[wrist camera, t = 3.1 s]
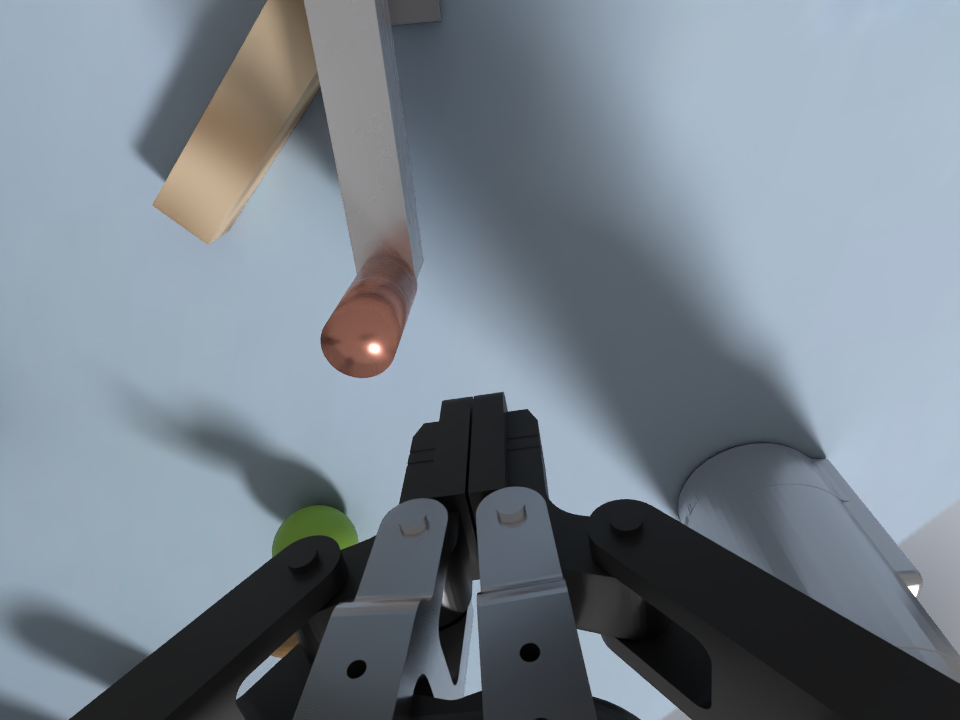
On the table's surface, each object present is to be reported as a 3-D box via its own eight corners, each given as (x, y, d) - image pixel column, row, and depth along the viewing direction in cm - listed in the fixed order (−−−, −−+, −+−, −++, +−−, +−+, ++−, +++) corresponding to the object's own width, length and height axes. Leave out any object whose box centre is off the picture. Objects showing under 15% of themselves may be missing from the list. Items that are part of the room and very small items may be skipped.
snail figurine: (268, 485, 39) (183, 645, 29) (363, 489, 39) (313, 651, 29) (278, 544, 42) (204, 711, 31) (367, 548, 42) (323, 717, 31)
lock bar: (288, -121, 21) (164, -223, 14) (384, -133, 21) (316, -244, 13) (366, 290, 29) (315, 380, 21) (438, 284, 29) (415, 374, 21)
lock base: (422, -168, 23) (398, -238, 18) (461, 211, 30) (452, 248, 25) (44, -120, 25) (-92, -172, 19) (166, 236, 32) (93, 276, 26)
